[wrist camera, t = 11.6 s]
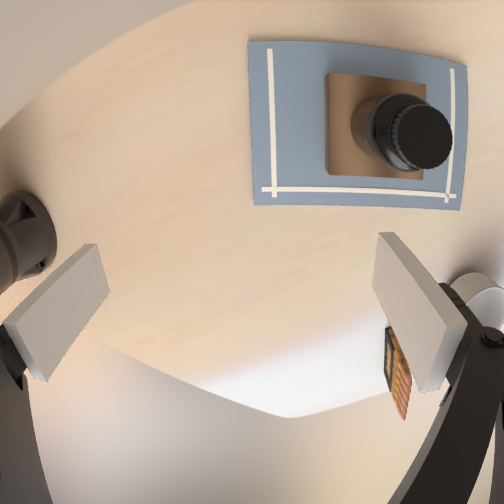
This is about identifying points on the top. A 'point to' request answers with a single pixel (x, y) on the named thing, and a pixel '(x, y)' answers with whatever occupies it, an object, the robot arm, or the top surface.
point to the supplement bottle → (402, 132)
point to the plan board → (313, 125)
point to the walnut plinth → (339, 118)
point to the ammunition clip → (397, 372)
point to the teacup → (482, 298)
